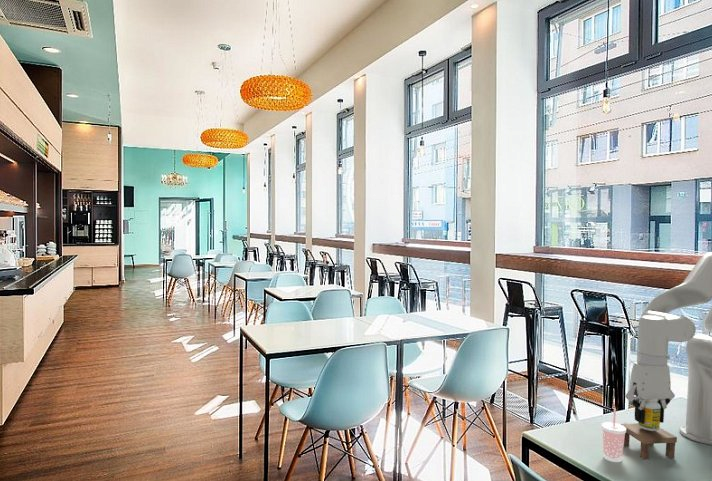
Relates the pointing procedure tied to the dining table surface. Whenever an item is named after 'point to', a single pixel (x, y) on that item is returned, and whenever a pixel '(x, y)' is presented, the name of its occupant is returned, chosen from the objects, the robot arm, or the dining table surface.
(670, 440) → the footstool
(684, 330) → the robot arm
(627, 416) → the dining table surface
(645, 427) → the supplement bottle
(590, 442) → the dining table surface
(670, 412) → the dining table surface
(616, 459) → the beverage cup
